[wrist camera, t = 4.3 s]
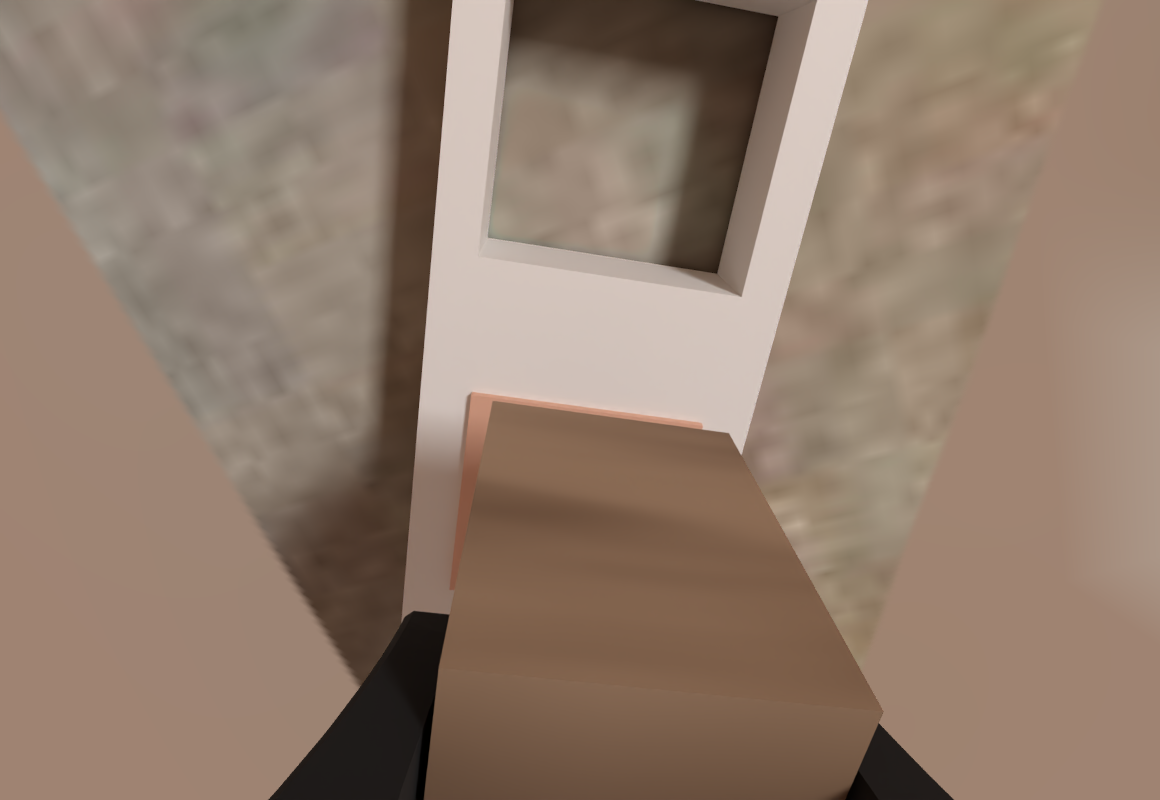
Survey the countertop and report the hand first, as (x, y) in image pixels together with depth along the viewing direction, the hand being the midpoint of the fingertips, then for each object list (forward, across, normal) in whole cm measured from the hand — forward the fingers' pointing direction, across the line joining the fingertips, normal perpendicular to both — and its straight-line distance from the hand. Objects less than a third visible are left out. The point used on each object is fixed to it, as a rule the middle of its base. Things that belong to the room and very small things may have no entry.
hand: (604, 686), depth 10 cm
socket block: (+10, 0, -3) cm, 11 cm away
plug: (+4, 0, 0) cm, 4 cm away
